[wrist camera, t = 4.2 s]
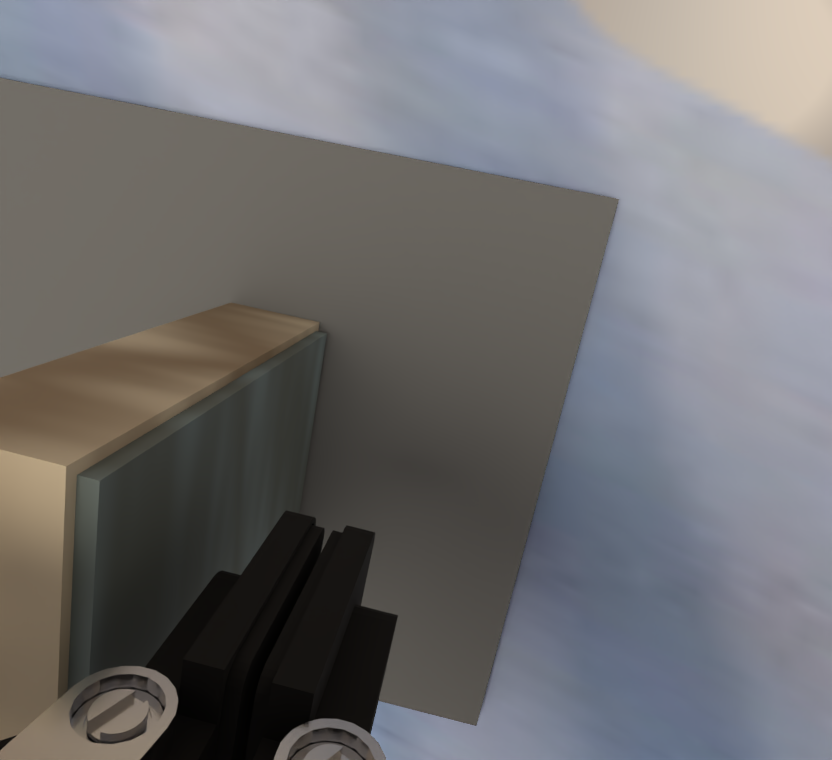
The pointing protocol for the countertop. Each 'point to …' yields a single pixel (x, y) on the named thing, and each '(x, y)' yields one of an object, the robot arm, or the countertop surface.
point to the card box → (141, 488)
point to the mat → (330, 328)
